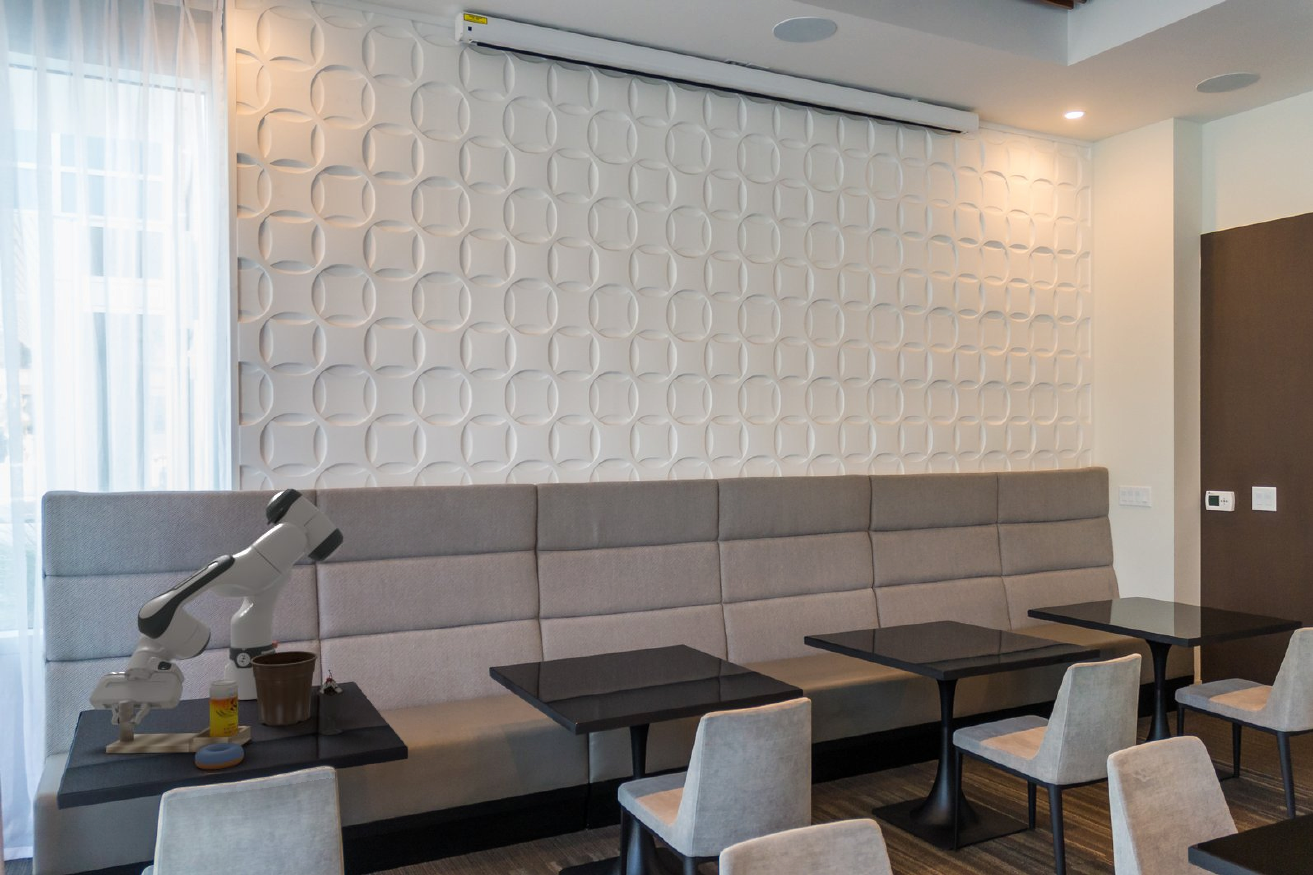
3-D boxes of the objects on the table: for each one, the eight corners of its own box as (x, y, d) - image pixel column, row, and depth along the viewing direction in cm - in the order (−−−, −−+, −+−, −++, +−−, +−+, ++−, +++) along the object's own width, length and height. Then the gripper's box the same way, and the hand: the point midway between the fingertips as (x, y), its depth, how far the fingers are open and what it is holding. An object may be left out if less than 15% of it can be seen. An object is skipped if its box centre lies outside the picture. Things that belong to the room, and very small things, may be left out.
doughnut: (206, 773, 210) (208, 751, 211) (185, 766, 217) (187, 745, 218) (251, 766, 218) (252, 745, 218) (230, 760, 224) (231, 739, 225)
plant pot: (319, 724, 248) (319, 660, 249) (250, 732, 243) (249, 666, 243) (316, 709, 264) (316, 648, 264) (251, 716, 258) (250, 654, 258)
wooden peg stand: (106, 753, 226) (105, 707, 226) (129, 740, 236) (129, 696, 236) (232, 751, 226) (231, 705, 226) (250, 738, 236) (250, 694, 236)
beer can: (228, 750, 228) (227, 685, 228) (204, 749, 229) (203, 684, 229) (243, 742, 233) (243, 679, 234) (220, 741, 235) (219, 678, 235)
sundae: (331, 727, 245) (330, 667, 246) (351, 730, 242) (350, 669, 243) (311, 734, 240) (310, 672, 240) (331, 737, 237) (330, 675, 237)
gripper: (98, 665, 238) (74, 717, 228) (182, 664, 238) (162, 715, 228) (108, 679, 243) (85, 731, 233) (191, 678, 243) (172, 729, 233)
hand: (124, 723), depth 231 cm, fingers open, 3 cm apart
